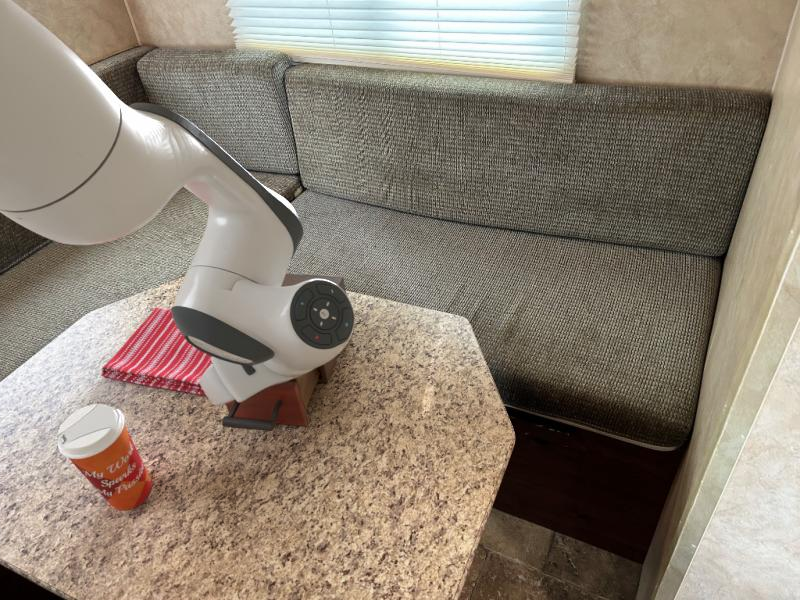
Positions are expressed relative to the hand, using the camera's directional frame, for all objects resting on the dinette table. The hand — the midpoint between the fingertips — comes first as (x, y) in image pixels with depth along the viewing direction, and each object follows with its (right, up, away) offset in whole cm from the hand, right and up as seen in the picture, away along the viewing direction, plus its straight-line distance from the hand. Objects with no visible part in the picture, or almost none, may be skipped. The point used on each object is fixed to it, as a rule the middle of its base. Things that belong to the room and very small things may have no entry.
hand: (265, 359), depth 86 cm
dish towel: (-16, -1, +15) cm, 22 cm away
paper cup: (-17, -17, -5) cm, 25 cm away
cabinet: (+3, +1, +14) cm, 14 cm away
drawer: (+1, -6, +4) cm, 8 cm away
